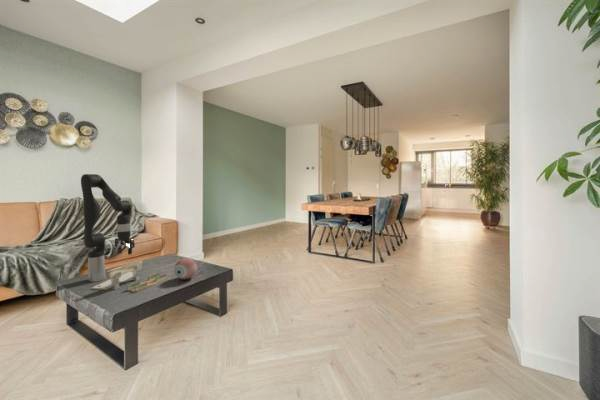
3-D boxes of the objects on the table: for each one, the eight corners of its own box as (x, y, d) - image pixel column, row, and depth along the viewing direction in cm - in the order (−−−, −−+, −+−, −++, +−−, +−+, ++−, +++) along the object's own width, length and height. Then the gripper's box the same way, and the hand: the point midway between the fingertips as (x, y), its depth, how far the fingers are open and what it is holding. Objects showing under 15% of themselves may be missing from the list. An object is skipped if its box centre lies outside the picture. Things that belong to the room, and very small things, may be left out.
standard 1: (109, 289, 171) (108, 272, 170) (114, 286, 174) (113, 270, 174) (116, 290, 169) (116, 273, 169) (121, 287, 173) (121, 271, 172)
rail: (106, 278, 168) (106, 271, 168) (138, 266, 191) (138, 260, 191) (111, 278, 167) (110, 271, 167) (142, 267, 190) (142, 260, 190)
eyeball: (169, 282, 183) (169, 261, 182) (182, 274, 198) (181, 255, 197) (189, 283, 181) (189, 262, 180) (200, 275, 196) (200, 256, 195)
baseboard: (141, 274, 200) (126, 273, 202) (141, 270, 200) (126, 269, 201) (108, 290, 170) (91, 290, 171) (108, 286, 170) (91, 285, 171)
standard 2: (130, 280, 186) (129, 265, 186) (134, 278, 190) (134, 263, 189) (137, 281, 185) (137, 265, 184) (142, 279, 188) (141, 264, 188)
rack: (125, 290, 169) (125, 286, 168) (157, 276, 194) (156, 272, 193) (136, 292, 166) (136, 287, 166) (167, 277, 191) (167, 273, 191)
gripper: (110, 230, 175) (111, 254, 176) (127, 231, 172) (128, 256, 173) (120, 228, 182) (121, 251, 184) (137, 229, 179) (138, 253, 180)
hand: (124, 253), depth 178 cm, fingers open, 8 cm apart
